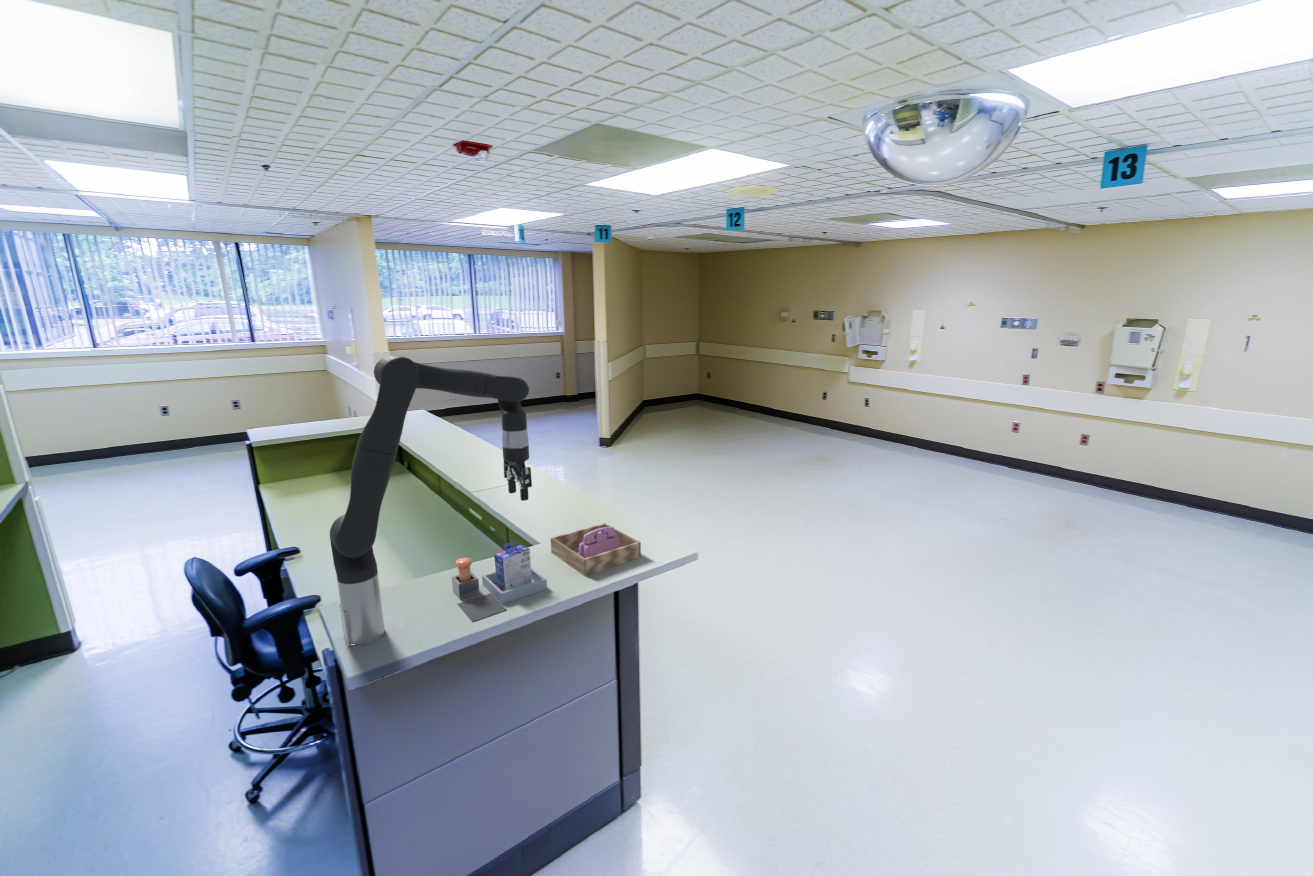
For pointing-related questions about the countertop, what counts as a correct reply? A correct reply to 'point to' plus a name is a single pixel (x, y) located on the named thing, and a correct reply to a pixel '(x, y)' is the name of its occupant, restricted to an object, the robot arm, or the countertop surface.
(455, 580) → the button housing
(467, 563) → the release button
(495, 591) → the collar
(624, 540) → the phone corral
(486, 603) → the mat
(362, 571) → the robot arm
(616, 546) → the toy telephone
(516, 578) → the ink cartridge box
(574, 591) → the countertop surface
